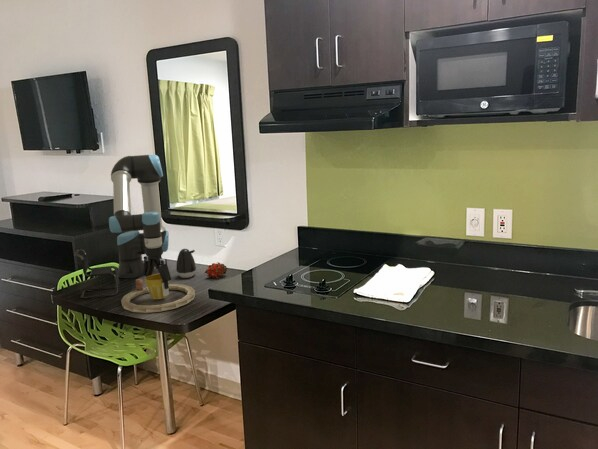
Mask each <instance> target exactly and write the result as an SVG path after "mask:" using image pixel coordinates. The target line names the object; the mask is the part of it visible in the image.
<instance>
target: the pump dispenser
mask: <svg viewBox="0 0 598 449" xmlns="http://www.w3.org/2000/svg"><path fill="white" fill-rule="evenodd" d="M195 252H196V251H195V249H192V250H189V249H188V248H182V249H180V250H179V253H178V255H177V259H176V263H175V265H176V266H175V267H176V269H175V271H176V272H177V275H178V277H180V278H182V279H189V278H191V277H192V278H193V276H195V273H196V270H197V265H196V261H195V259H194V256H193V253H195Z"/></svg>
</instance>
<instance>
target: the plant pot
mask: <svg viewBox="0 0 598 449" xmlns="http://www.w3.org/2000/svg"><path fill="white" fill-rule="evenodd" d="M144 279H145V280H144V281H145V287H148V289H149V292H148V293H149V295H150V296H151V297H150V298H151V299H153V300H161V299H164V298H167V296H168V295H166V296H163V290H162V282H163V281H162V278H161V276H160V274H159V273H155V274H152V275H150V276H147V277H146V276H145V278H144ZM168 284H170V281H168Z"/></svg>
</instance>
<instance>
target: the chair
mask: <svg viewBox="0 0 598 449" xmlns="http://www.w3.org/2000/svg"><path fill="white" fill-rule="evenodd" d="M79 252H83V253H84V254H83V255H84V256H83V255H81V254H79ZM73 256H74V258H75V257H76V258H77V257H79V258H80V259H81V260H80V261H81V266H82V271H83V276H85V277H87V278H93V277H94V278H96V277H104V276H110V275H111V276H113V278H114V285H113V286H105V287H104V286H103V287H96V288H95V287H94V288H89V289H85V290H83V291H82V292H81V293H80V299H81V298H86V299H85V300H88V299H87V298H91V299H96V298H97V299H98V297H99V298H106V296H107V297H113V296H116V295H117V294H118V293H119V285H120V279H119V277H118V268H117V267H116V266H114V265H109V266H108V265H107V266H98V267H90V266H89V261H88V260H89V259H88V253H87V251H86V249H84V248H77V249H76V250H75V252H74V254H73ZM112 269H113V270H114V271H115V273H114V272H111V271H112ZM88 270H89V271H90V274H88V273H87V272H88ZM103 289H104V290H113V289H115V292H112V293H107V294H98V295H91V296H85V293H86V292H85V291H88V290H96V291H102V290H103ZM84 292H85V293H84Z"/></svg>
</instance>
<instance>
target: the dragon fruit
mask: <svg viewBox="0 0 598 449" xmlns="http://www.w3.org/2000/svg"><path fill="white" fill-rule="evenodd" d="M227 271H228V268H227V265H225V264H224V263H221V262H215V263H211V264H209V265H208V267H207V269H205V271H204V274H207V277H208V278H212V279H218V278H221V277H223V275H226V274H227Z"/></svg>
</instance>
